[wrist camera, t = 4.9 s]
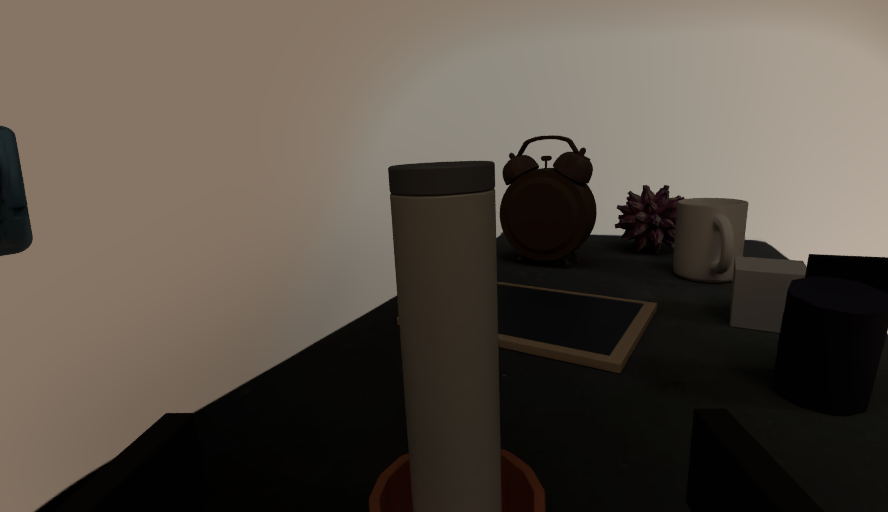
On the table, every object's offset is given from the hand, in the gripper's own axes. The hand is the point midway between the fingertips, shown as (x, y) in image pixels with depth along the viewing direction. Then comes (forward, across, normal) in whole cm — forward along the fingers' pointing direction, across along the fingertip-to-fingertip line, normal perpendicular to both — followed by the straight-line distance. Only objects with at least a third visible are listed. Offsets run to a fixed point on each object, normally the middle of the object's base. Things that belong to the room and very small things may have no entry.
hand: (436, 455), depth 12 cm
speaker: (+22, +27, -12) cm, 36 cm away
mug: (+52, +33, -12) cm, 62 cm away
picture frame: (+39, +7, -11) cm, 41 cm away
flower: (+69, +31, -12) cm, 76 cm away
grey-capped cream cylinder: (+7, 0, -11) cm, 13 cm away
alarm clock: (+63, +13, -12) cm, 66 cm away
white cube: (+37, +31, -12) cm, 49 cm away
